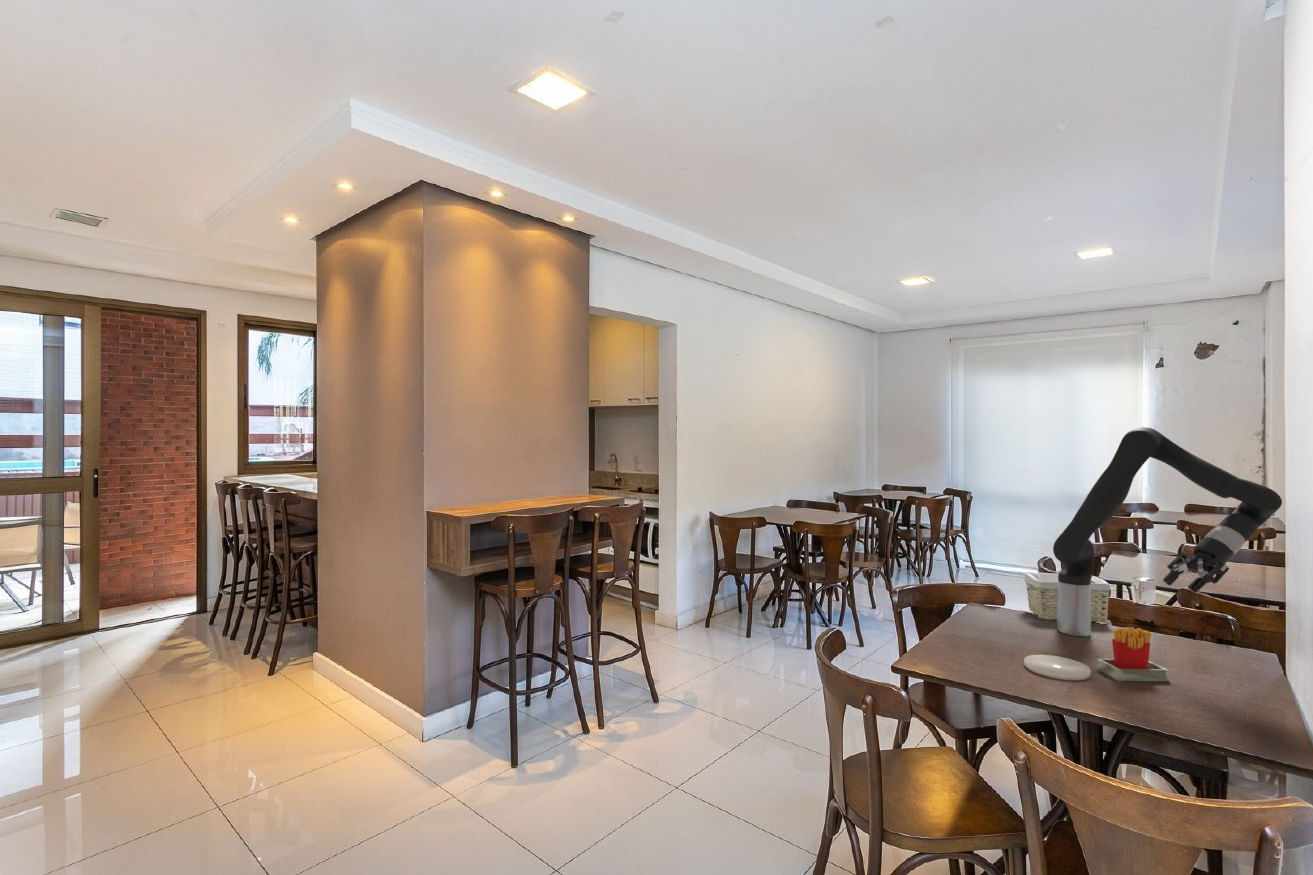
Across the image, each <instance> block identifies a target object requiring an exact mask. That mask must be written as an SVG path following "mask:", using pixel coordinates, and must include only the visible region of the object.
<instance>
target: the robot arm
mask: <svg viewBox="0 0 1313 875" xmlns="http://www.w3.org/2000/svg"><path fill="white" fill-rule="evenodd" d="M1150 458H1152V459H1154V460H1157V461H1159V462H1162V463H1164V464H1166V465H1167V466H1170V467H1171V468H1173V469H1175V470H1176V471H1177V472H1179V473H1180V474H1182V475H1183V476H1184V477H1185V478H1187V479H1188V480H1190V481H1191V482H1193V483H1194V484H1196V485H1197V486H1199V487H1201V488H1202V489H1204V490H1206V491H1208V492H1210V493H1211V494H1214V495H1216V496H1217V497H1220V498H1222V499H1230V498H1233V499H1234V500H1237V501H1240V503H1239V505H1238V506H1237V507H1236V508H1235V509H1234V510H1233V511H1232V512H1231V513H1230V514H1228V515H1227V516H1225V517H1224V518H1223V519H1222V520H1221V521H1220V522H1219V523H1218V524H1217V525H1216V526H1215V527H1214V528H1212V529H1211V530H1210V531H1209V532H1208V533H1207V534H1206V535H1205V536H1204V537H1202V539H1200V541H1199V542H1198V543H1196V545H1195V546H1193V554H1191V555H1189V556H1188V555H1186V554H1185V553H1184V552H1181V553H1180V554H1178V555H1177V556H1176V558H1174V559H1173V560H1172V561H1171V562H1170V563H1169V564H1167V566H1166V567H1167V568H1168V570H1170V571H1169V572H1168V574H1167V575H1165V576H1164V578H1163V582H1164V583H1165V584H1166V585H1168V586H1171V585H1173V584H1174V583H1175V582H1176V581H1177V579H1179V578H1180V577H1181V576H1183V575H1191V574H1192V573H1193V574H1198V577H1196V578H1195V579H1194V580H1193V581H1192V582H1190V583H1189V584H1188V587H1187V588H1188V589H1189V591H1191V592H1193V593H1197V592H1199V591H1200V590H1201V589H1202V588H1203V587H1204V586H1205V585H1208V584H1210V583H1212V584H1214V585H1215V584H1217V583H1218V582H1219V581H1220V580H1221V579H1222V578H1223V577H1224V575H1225V574H1226V573H1227V572H1229V570H1230V568H1229V567H1228V566H1227V563H1228V562H1229V561H1230V560H1231V559H1232V558H1233V557H1234V556H1235V555H1236V554H1237V553H1238V552H1239V551H1240V550H1241V549H1242V547H1243V546H1244V544H1245V543H1246V542H1247V541H1248V540H1249V539H1250V538H1251V537H1252V536H1254V534H1255V533H1256V531H1257V530H1258V529H1259V528H1260V527H1261V526H1262V525H1263V524H1264V523H1266V522H1267V521H1268V519H1270V518H1271V517H1272V516H1274V514H1275V513H1276V512H1277V511H1278V510H1279V509H1281V506H1282V504H1283V501H1282V498H1281V496H1280V494H1278V493H1277V492H1276V491H1275V490H1273V489H1271V488H1269V487H1268V486H1265V485H1262V484H1259V483H1256V482H1253V481H1251V480H1247V479H1244V478H1240V477H1237V476H1235V474H1232V473H1230V472H1228V471H1226V470H1224V469H1223V468H1221V467H1218V466H1216V465H1215V464H1212V463H1210V462H1208V461H1207V460H1205V459H1203V458H1201V457H1198V456H1196V455H1195V454H1193V453H1190V452H1189V451H1188V450H1186V449H1185V448H1182V447H1181V446H1180V445H1178V444H1176V443H1174V442H1173V441H1172V440H1171V439H1169V438H1168V437H1166V436H1165V435H1164V434H1162V433H1161V432H1160V431H1158V430H1156V429H1155V428H1152V427H1146V426H1145V427H1144V426H1143V427H1141V426H1140V427H1138V428H1134V429H1132V430H1130V431H1128V432H1127V433H1126V434H1124V436H1123V437H1122V439H1121V441H1120V443H1119V445H1118V447H1117V449H1116V452H1115V453H1114V456H1113V457H1112V460H1111V461H1110V463H1109V464H1108V466H1107V467H1106V469H1105V470H1104V471H1103V472H1102V474H1101V475H1100V476H1099V477H1098V479H1097V480H1096V482H1094V484H1093V486H1092V488H1090V489H1091V490H1089V492H1088V494H1087V495H1086V497H1085V499H1084V501H1083V502H1082V503H1081V506H1079V509H1078V510H1077V512H1076V513H1075V515H1074V517H1073V518H1072V519H1071V522H1069V524H1068V525H1067V526H1066V528H1064V530H1063V531H1062V532H1061V534H1060V535H1059V536H1058V537H1057V538H1056V539H1055V541H1054V544H1053V546H1052V547H1053V548H1052V551H1053V555H1054V557H1055V559H1056V560H1057V561H1059V562H1061V563H1064V566H1063V568H1062V569H1061V570H1060V571H1059V572H1058V573H1057V574H1058V601H1057V620H1056V628H1057V629H1058V631H1059V632H1060V633H1063V634H1066V635H1069V636H1075V637H1090V636H1091V635H1092V622H1091V578H1092V576H1094V570H1095V548H1094V546H1093V543H1092V541H1091V540H1090V538H1091V537H1092V535H1093V534H1094V533H1095V532H1096V531H1097V530H1099V529H1100V528H1101V527H1102V526H1103V525H1104V524H1106V523H1107V522H1108V521H1109V520H1110V519H1112V518H1113V517H1114V516H1115V514H1116V513H1117V512H1118V511H1119V509H1120V507H1121V506H1122V504H1123V503H1124V502H1125V500H1126V498H1127V496H1128V494H1129V492H1130V489H1131V486H1132V483H1133V481H1134V478H1135V477H1136V475H1137V473H1138V472H1139V470H1140V469H1141V468H1142V466H1143V465H1144V464H1145V463H1146V462H1147V460H1149V459H1150ZM1185 566H1186V567H1185Z"/></svg>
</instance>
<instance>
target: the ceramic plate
mask: <svg viewBox="0 0 1313 875" xmlns="http://www.w3.org/2000/svg"><path fill="white" fill-rule="evenodd" d="M1023 661H1024V665H1023V666H1024V667H1025V668H1026V669H1027V668H1028V669H1027V670H1029V671H1030V672H1032V673H1035V674H1036V675H1037V674H1038V675H1040V676H1044V677H1047V678H1052V679H1056V680H1064V681H1084V680H1085V681H1086V680H1088V679H1090V677H1091V673H1092V671H1091V667H1089V666H1088V665H1086V664H1085V663H1082V662H1080V661H1078V660H1074V659H1071V658H1067V657H1064V656H1057V655H1053V654H1051V655H1050V654H1031V655H1027V656H1025V657H1024V659H1023Z"/></svg>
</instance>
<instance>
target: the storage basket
mask: <svg viewBox="0 0 1313 875" xmlns="http://www.w3.org/2000/svg"><path fill="white" fill-rule="evenodd" d="M1058 574H1059V573H1054V572H1053V573H1052V572H1051V573H1049V572H1031V571H1025V572H1024V582H1025V584H1026V586H1025V587H1026V593H1027V600H1028V608H1029V611H1030V612H1032V613H1033V614H1034V615H1036V616H1037V615H1040V616H1041V617H1040V616H1037V617H1038V618H1039V619H1042V620H1048V621H1054V620H1055V621H1057V601H1058ZM1110 586H1111V585H1110V583H1109V582H1107V581H1105V580H1103V579H1101V578H1099V577H1097V576H1094V575H1093V576H1092V578H1091V623H1092V622H1095V623H1107V622H1108V609H1109V598H1110V597H1109V596H1110V590H1111V587H1110ZM1046 618H1047V619H1046Z"/></svg>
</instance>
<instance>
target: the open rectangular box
mask: <svg viewBox="0 0 1313 875" xmlns="http://www.w3.org/2000/svg"><path fill="white" fill-rule="evenodd" d="M1096 670H1098V671H1099V672H1101V673H1103V674H1105V675H1107V676H1109V677H1110V678H1112V679H1114V680H1116V681H1118V682H1170V670H1169V669H1167V668H1165V667H1164V666H1161V665H1158V664H1156V663H1154V662H1152V661H1149V660H1148V669H1119V668H1117V667H1115V661H1114V658H1096Z"/></svg>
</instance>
